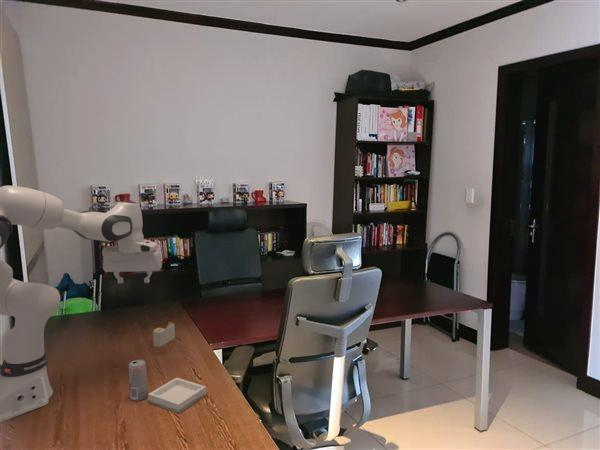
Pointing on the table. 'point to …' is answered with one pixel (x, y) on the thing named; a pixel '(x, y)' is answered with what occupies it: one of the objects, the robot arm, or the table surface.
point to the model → (164, 335)
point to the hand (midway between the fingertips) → (133, 282)
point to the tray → (177, 395)
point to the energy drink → (137, 380)
